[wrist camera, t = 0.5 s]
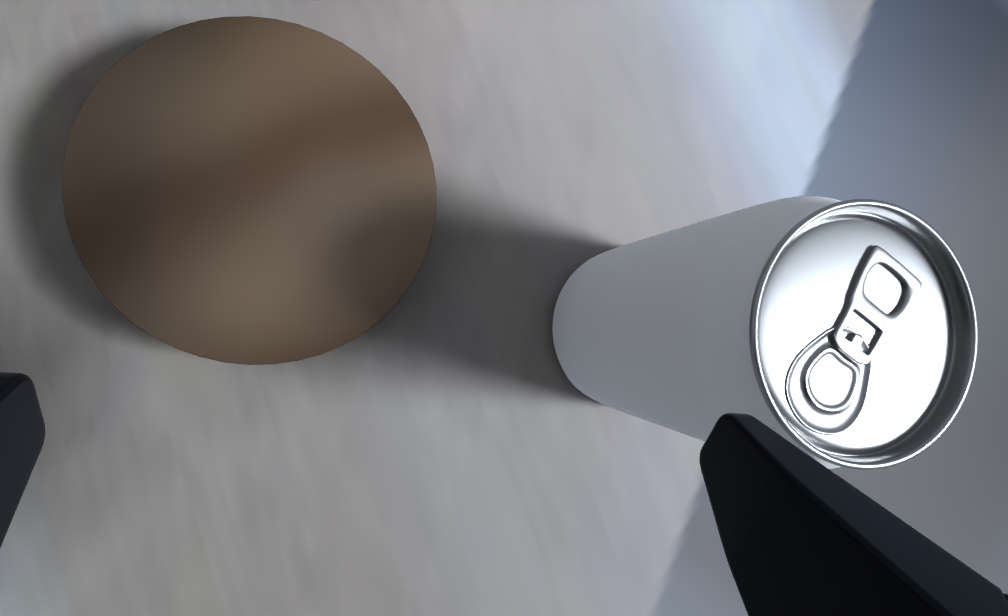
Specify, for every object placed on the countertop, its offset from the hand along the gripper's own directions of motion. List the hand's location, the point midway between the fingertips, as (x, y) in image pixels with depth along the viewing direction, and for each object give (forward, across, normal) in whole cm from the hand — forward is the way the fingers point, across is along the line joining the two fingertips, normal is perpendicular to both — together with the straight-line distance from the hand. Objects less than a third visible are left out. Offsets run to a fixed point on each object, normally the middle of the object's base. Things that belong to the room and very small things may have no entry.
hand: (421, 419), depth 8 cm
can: (+12, -10, +7) cm, 17 cm away
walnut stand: (+14, +4, +4) cm, 16 cm away
